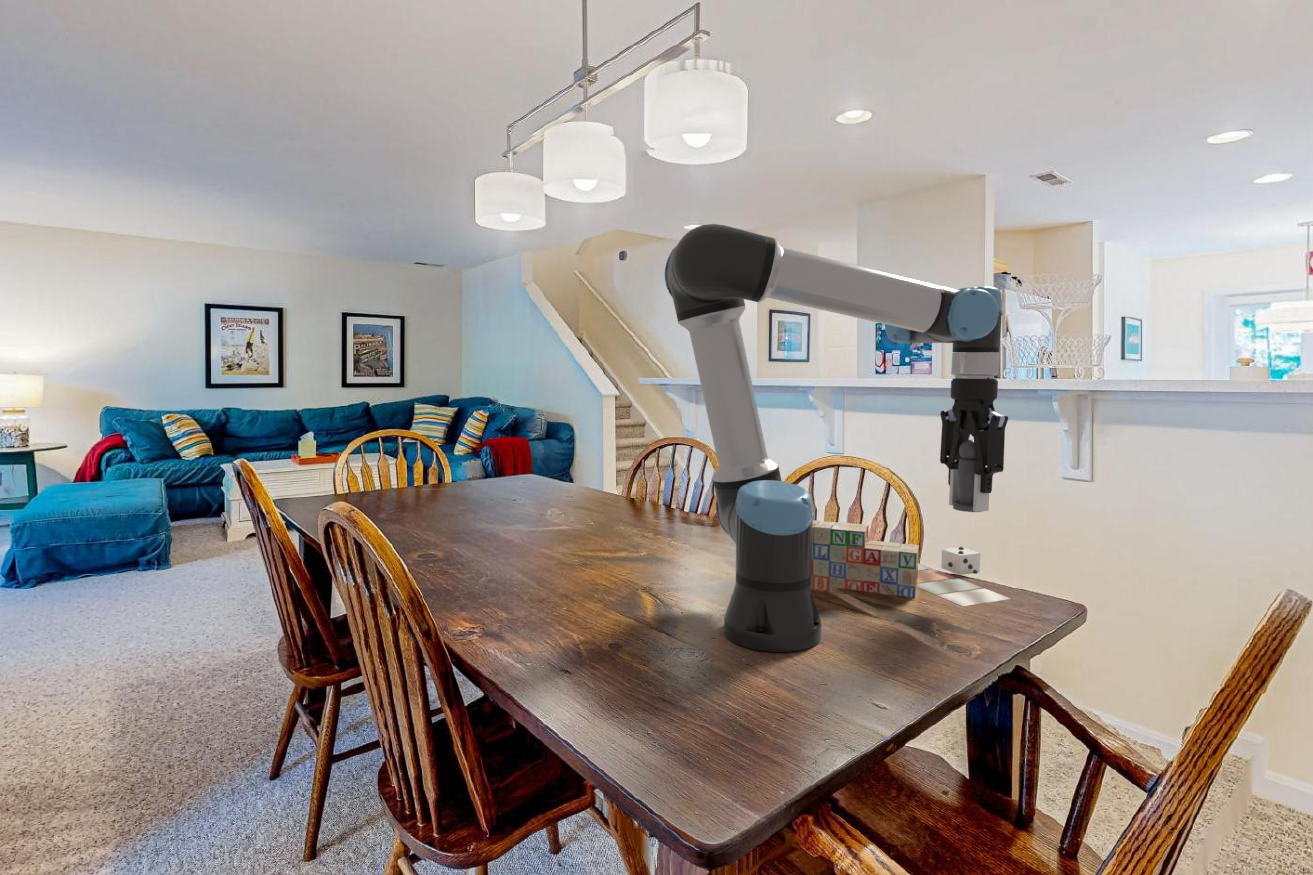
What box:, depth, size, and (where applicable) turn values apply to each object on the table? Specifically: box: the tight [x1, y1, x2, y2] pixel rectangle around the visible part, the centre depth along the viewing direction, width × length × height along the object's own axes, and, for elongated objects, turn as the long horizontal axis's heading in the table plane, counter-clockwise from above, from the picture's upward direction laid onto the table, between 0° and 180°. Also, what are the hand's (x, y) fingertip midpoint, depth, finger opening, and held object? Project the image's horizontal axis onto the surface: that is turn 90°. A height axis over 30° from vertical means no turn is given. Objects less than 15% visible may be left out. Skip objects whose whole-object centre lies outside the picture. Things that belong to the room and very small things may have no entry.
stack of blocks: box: [811, 519, 920, 599], centre depth 131 cm, size 21×6×12 cm, turn 66°
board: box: [917, 562, 1012, 607], centre depth 134 cm, size 12×26×1 cm, turn 20°
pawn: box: [952, 439, 984, 513], centre depth 124 cm, size 5×5×12 cm
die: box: [940, 546, 981, 576], centre depth 140 cm, size 6×6×6 cm
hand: (968, 507), depth 125 cm, fingers closed on pawn, 5 cm apart
